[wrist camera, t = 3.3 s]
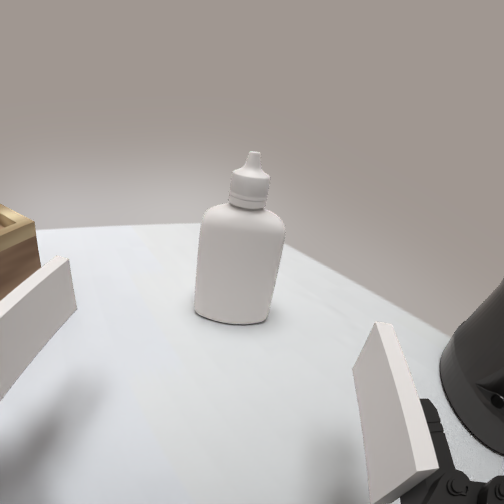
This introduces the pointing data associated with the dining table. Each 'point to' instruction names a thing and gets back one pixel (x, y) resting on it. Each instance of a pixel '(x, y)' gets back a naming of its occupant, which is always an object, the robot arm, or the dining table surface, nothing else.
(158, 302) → the dining table surface
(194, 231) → the dining table surface
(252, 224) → the eye dropper bottle
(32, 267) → the display pedestal
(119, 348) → the dining table surface
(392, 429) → the robot arm
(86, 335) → the dining table surface
